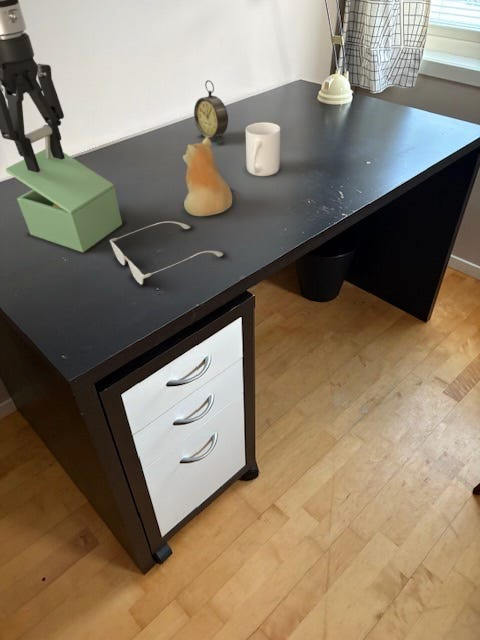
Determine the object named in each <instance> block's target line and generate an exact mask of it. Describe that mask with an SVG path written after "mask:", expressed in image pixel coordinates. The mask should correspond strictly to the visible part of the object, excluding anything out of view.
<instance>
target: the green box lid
mask: <svg viewBox="0 0 480 640" xmlns="http://www.w3.org/2000/svg"><path fill="white" fill-rule="evenodd" d="M45 125H46V126H44V125H43V126H44V127H43V126H42V127H41V126H40V127H39V128H37V129H35V130H33V131H30V132H28V133H25V138H29V139H30V142H31V144H34V143H36V142H38V141H40V140H42V139H44V145H45V149H43V150H41V151H38V152H37V153H34V154H35V157H36V160H37V163H38V166H39V168H40V172H38V173H37V172H33V171H29V170H28V169H27V166H26V163H25V160H24V159H22V160H20V161H18V162H16V163H15V164H12V165H10V166H8V167H6V168H5V172H6V173H7V174H9V175H11V176H12V177H14V178H15V179H16V180H18V181H19V182H21V183H23V184H24V185H26V187H29V188H30V189H31V190H35V191H36V192H38V193H39V194H41V195H42V196H44V197H45V198H47V199H48V200H50V201H52V202H53V203H55V204H56V205H58V206H59V207H61V208H62V209H64V210H65V211H67V212H68V213H70V214H72V213H74V212H75V211H77V210H78V209H80V208H82V207H83V206H85V205H86V204H88V203H89V202H91V201H93V200H94V199H96V198H97V197H99V196H101V195H102V194H104V193H105V192H107V191H108V190H110V189H112V188H115V187H114V186H115V185H114V183H112V182H111V181H110V180H108V179H106V178H104V177H103V176H102V175H100V174H98V173H97V172H95V171H94V170H93V169H90V168H89V167H87V166H86V165H84V164H83V163H81V162H79V161H77V160H76V159H75V158H73V157H71V156H70V155H68V154H67V153H65V152H64V151H63V153H64V157H65V158H64V159H63V160H62V159H58V158H53V156H52V153H51V149H50V135H51V134H52V129H51V127H50V126H48V124H45Z"/></svg>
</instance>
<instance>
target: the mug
mask: <svg viewBox="0 0 480 640" xmlns="http://www.w3.org/2000/svg"><path fill="white" fill-rule="evenodd" d="M245 157H246V158H245V159H246V160H245V162H246V170H247V172H248V173H249V174H251V175H252V176H256V177H269V176H273V175H275V174H276V173H278V171H279V170H280V164H281V163H280V162H281V161H280V160H281V159H280V158H281V126H280V125H278V124H276V123H272V122H255V123H251V124H248V125H247V126H246V127H245Z"/></svg>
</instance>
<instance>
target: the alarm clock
mask: <svg viewBox="0 0 480 640" xmlns="http://www.w3.org/2000/svg"><path fill="white" fill-rule="evenodd" d="M208 82H209V83H210V84H211V86H212V91H211V90H209V89H208V87H207V83H208ZM204 86H205V89H206V91H207V93H208V95H207V96H203V97H200V98H199V99H197V100H196V102H195V105H194V108H193V109H194V110H193V116H194V122H195V126H196V127H197V129H198V131H199V133H200V134H201V135H200V137H201V138H202V137H205V138H206V137H208V138H209V139H210V140H211V139H214V138H216V139H217V141H218V143H219V144H220V145H222V141H221V136H222V135H224V134H225V133H226V131H227V129H228V125H229V115H228V110H227V107H226V105H225V103H224V102H223V100H222V99H220V97H218V96H217V95H212V94H213V93H214V91H215V86H214V83H213V82H212V81H211V80H208V79H207V80H206V81H205V84H204Z"/></svg>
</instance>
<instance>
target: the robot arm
mask: <svg viewBox="0 0 480 640" xmlns="http://www.w3.org/2000/svg"><path fill="white" fill-rule="evenodd" d="M20 4H21V3H20V1H19V0H0V134H1V137H2V139H5V140H9V141H14V144H15V147H16V150H17V152H18V155H19V156H20V157H23V160H25V163H26V166H27V169H28V170H29V171H33V172H37V173H38V172H40V168H39V166H38V163H37V160H36V157H35V154H36V153H35V151H34V148H33V145H32V143H31V142H30V139H29V138H25V135H26V131H25V121H24V110H23V101H24V98H25V97H24V95H25V94H27V95H28V96H29V97H30V99H31V101H32V102H33V104H34V105H35V107H36V109H37V110H38V112H39V114H40V115H41V117H42V119H43V120H44V122H45V123H46V124H44V125H43V126H42V127H44V126H46V125H48V126H50V127H51V129H52V134H51V135H50V149H51V153H52V156H53V158H58V159H62V160H63V159H64V158H65V157H64V153H65V152H64V149H63V147H62V144H61V141H62V135H61V132H60V128H59V127H60V126H61V125H62V121H61V120H63V119H64V117H65V114H64V111H63V107H62V104H61V102H60V98H59V96H58V92H57V89H56V87H55V83H54V81H53V78H52V66H51V65H49V64H47V63H46V64H45V63H37V62H36V60H35V59H34V56H35V52H34V48H33V44H32V41H31V38H30V35H29V34H28V33H26V32H25V31H26V30H27V24H26V22H25V18H24V15H23V12H22V8H21V5H20ZM37 79H38V80H37ZM3 92H4V93H3ZM63 152H64V153H63Z"/></svg>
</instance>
